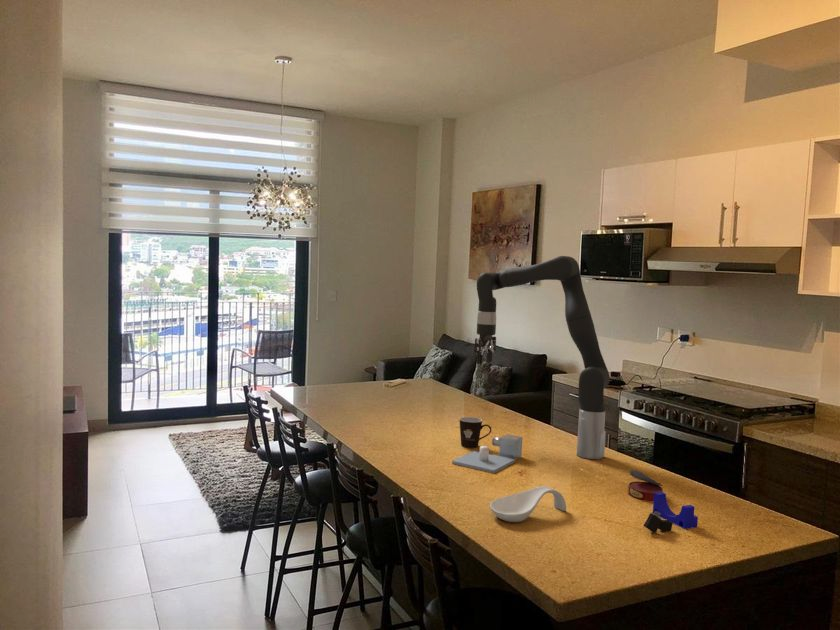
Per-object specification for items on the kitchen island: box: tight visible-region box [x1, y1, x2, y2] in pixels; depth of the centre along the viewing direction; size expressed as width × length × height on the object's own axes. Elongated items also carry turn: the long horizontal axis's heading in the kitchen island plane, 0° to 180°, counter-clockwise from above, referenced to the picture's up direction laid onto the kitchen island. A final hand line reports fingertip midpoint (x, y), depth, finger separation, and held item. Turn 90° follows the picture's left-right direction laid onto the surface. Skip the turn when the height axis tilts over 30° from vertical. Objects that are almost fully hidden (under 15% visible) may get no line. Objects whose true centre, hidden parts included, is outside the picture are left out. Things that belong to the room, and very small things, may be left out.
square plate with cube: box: [451, 445, 516, 474], centre depth 231 cm, size 16×16×6 cm
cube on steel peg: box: [491, 434, 524, 461], centre depth 241 cm, size 10×6×7 cm, turn 57°
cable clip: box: [652, 491, 699, 530], centre depth 185 cm, size 12×4×6 cm, turn 23°
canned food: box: [627, 469, 664, 503], centre depth 204 cm, size 11×10×10 cm
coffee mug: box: [458, 416, 492, 449], centre depth 251 cm, size 12×9×10 cm
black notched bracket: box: [642, 511, 674, 534], centre depth 176 cm, size 8×2×5 cm
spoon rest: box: [489, 485, 567, 523], centre depth 184 cm, size 24×12×7 cm, turn 120°
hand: (484, 363), depth 267 cm, fingers open, 8 cm apart
